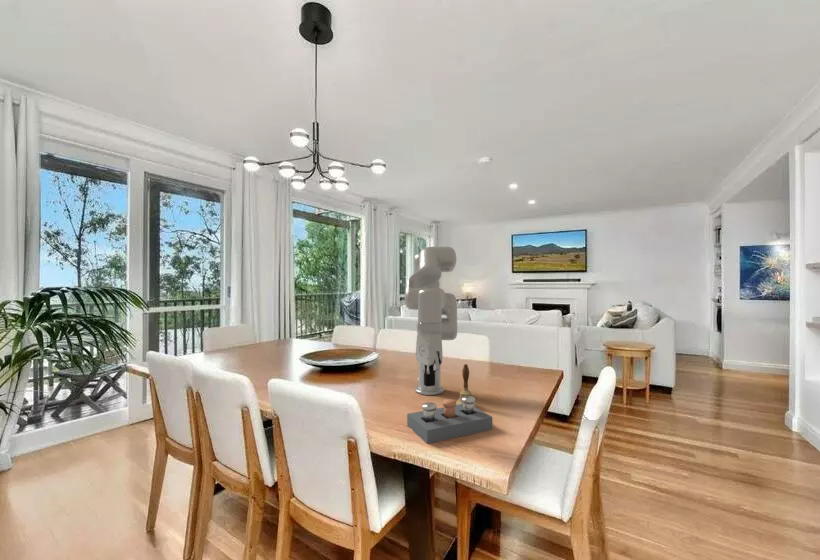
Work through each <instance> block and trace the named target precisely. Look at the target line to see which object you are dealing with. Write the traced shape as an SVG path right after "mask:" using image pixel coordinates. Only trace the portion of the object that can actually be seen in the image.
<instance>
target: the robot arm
mask: <svg viewBox="0 0 820 560" xmlns="http://www.w3.org/2000/svg"><path fill="white" fill-rule="evenodd" d="M456 264H457V254H456V251H455V249H454V248H452V246H427V247H424V248H423V249H421V251H420V252H419V253H416V254H415V255H414V257H413V265H414V269H415V272H414V273H412V274H411V275H410V276H409V277H408V279H407V281H406V284H405V288H404V289H405V290H404V304H405V306H406V308H407V309H409V310H412V311H413V310H414V311H417V323H416V333H417V335H416V343H415V345H416V347H415V360H416V361H417V362H418V378H417V379H416V380H417V382H418V385H415V387H414V391H415V392H416V393H418V394H420V395H423V396H425V395H426V396H435V395H440V394H442V393H444V392H445V387H444V386H442V385H441V366H442V364H443V342H442V341H453V340H455V339H456V338H457V336H458V304H457V298H456V296H455V294H453V293H449V292H445V290H444V289H443V288H441V287H440V285H441V284H440V279H441V277H442V273H451V272H453V271H454V270H455V268H456ZM442 316H446V317H442Z"/></svg>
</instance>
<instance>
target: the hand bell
mask: <svg viewBox="0 0 820 560" xmlns="http://www.w3.org/2000/svg"><path fill="white" fill-rule="evenodd" d="M462 367H463V368H462V370H461V371H462V379H463V390H461V391H460V392H459V398H458V400H457V401H456V405H460V404H463V402H462V397H464V396H472V397H473V393H472V391H471V390H469V378H470V370H469V369H470V368H469V366H468V364H466V363H464V364H463V366H462ZM474 407H476V408H477V409H478V405H477V404H476V402H475V403H474Z"/></svg>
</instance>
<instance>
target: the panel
mask: <svg viewBox="0 0 820 560" xmlns="http://www.w3.org/2000/svg"><path fill="white" fill-rule="evenodd" d="M406 417H407V421H406V422H407V425H406V426H407V427H408V428H409V429H410V428H411V429H412V430H413V433H414V434H415V435H417V436H418V437H419V438H420V439H421V440H422V441H424V442H425V443H426V444H427V445H428V444H432V443H437V442H442V441H445V439H446V440H451V439H454V438H459V437H464V436H467V435H473V434H478V433H483V432H486V430H487V431H490V429H491V430H493V416H491V415H489V414H488V413H486V412H485V411H483V410H481V409H480V408H478V407H477V408H476V407H474V414H470V415H466V414H464V413H463V404H460V405H456V406H455V417H454V418H449V419H447V418H445V417H444V406H443V407H438V408H437V407H436V410H435V421H434V422H429V423H427V422H425V421H424V410H421V411H417V412H416V411H415V412H410V413H407V416H406ZM411 429H410V430H411ZM450 438H451V439H450Z"/></svg>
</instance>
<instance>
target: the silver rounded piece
mask: <svg viewBox="0 0 820 560" xmlns="http://www.w3.org/2000/svg"><path fill="white" fill-rule="evenodd" d="M462 402H463V413H464V414H466V415H470V414H474V403H475V404H476V397H474V396H473V395H472V396H464V397H462Z"/></svg>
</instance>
